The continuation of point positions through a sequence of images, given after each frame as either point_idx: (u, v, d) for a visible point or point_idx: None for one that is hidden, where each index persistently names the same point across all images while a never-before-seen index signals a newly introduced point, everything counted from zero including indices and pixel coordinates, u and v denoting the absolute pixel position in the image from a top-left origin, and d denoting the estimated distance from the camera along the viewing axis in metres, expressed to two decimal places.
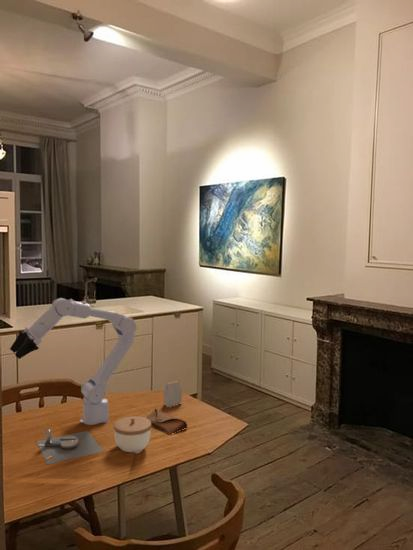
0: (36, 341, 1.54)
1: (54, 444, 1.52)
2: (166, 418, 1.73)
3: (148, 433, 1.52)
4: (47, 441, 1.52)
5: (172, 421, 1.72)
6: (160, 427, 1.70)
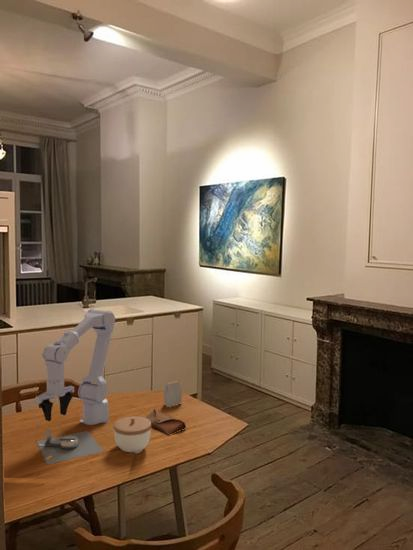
0: None
1: (54, 444, 1.52)
2: (164, 418, 1.73)
3: (148, 433, 1.52)
4: (47, 441, 1.52)
5: (171, 421, 1.71)
6: (159, 428, 1.70)
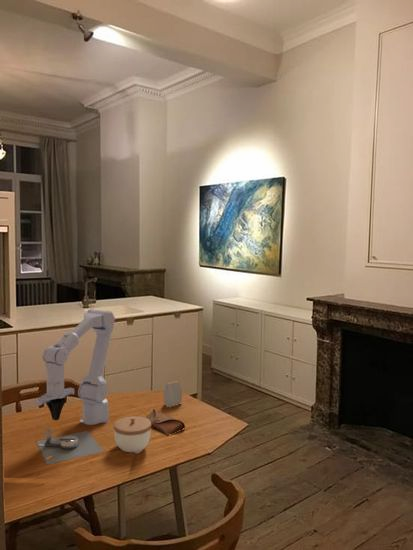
0: None
1: (54, 444, 1.52)
2: (164, 419, 1.72)
3: (148, 433, 1.52)
4: (47, 441, 1.52)
5: (170, 422, 1.71)
6: (158, 428, 1.70)
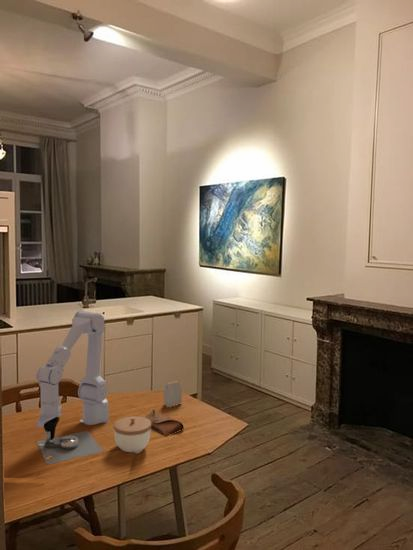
0: None
1: (54, 445, 1.52)
2: (162, 419, 1.72)
3: (148, 433, 1.52)
4: (47, 442, 1.52)
5: (168, 422, 1.70)
6: (156, 428, 1.69)
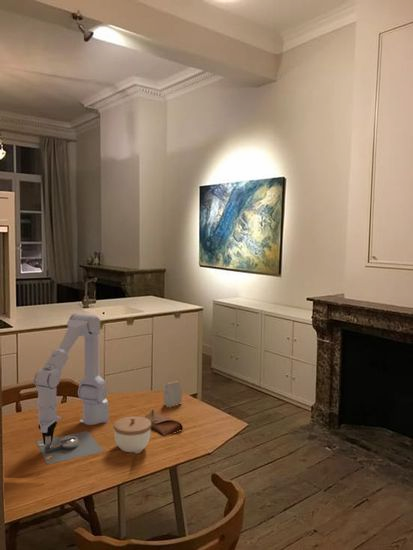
0: None
1: (56, 448, 1.50)
2: (161, 419, 1.72)
3: (148, 433, 1.52)
4: (48, 447, 1.48)
5: (167, 423, 1.70)
6: (155, 428, 1.69)
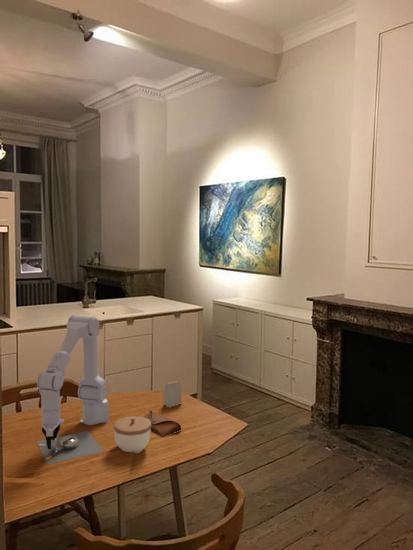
0: None
1: (61, 449, 1.49)
2: (160, 420, 1.71)
3: (148, 433, 1.52)
4: (55, 449, 1.46)
5: (166, 423, 1.70)
6: (154, 429, 1.69)
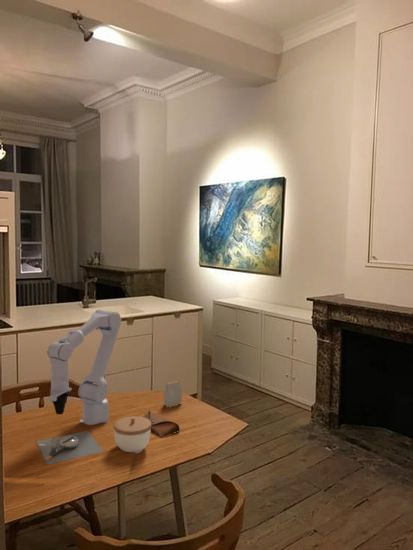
0: None
1: (61, 449, 1.49)
2: (158, 420, 1.71)
3: (148, 433, 1.52)
4: (55, 449, 1.47)
5: (164, 424, 1.69)
6: (152, 429, 1.68)
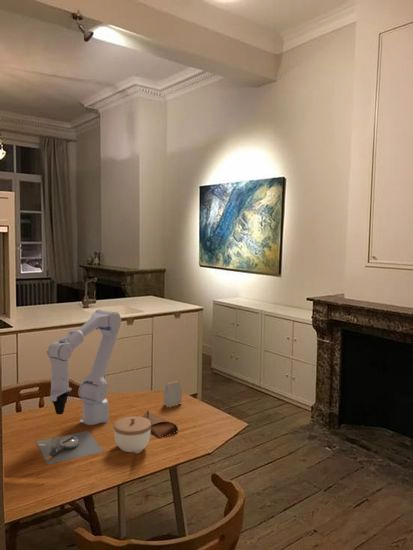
0: None
1: (61, 449, 1.49)
2: (156, 421, 1.70)
3: (148, 433, 1.52)
4: (55, 449, 1.47)
5: (163, 424, 1.69)
6: None
